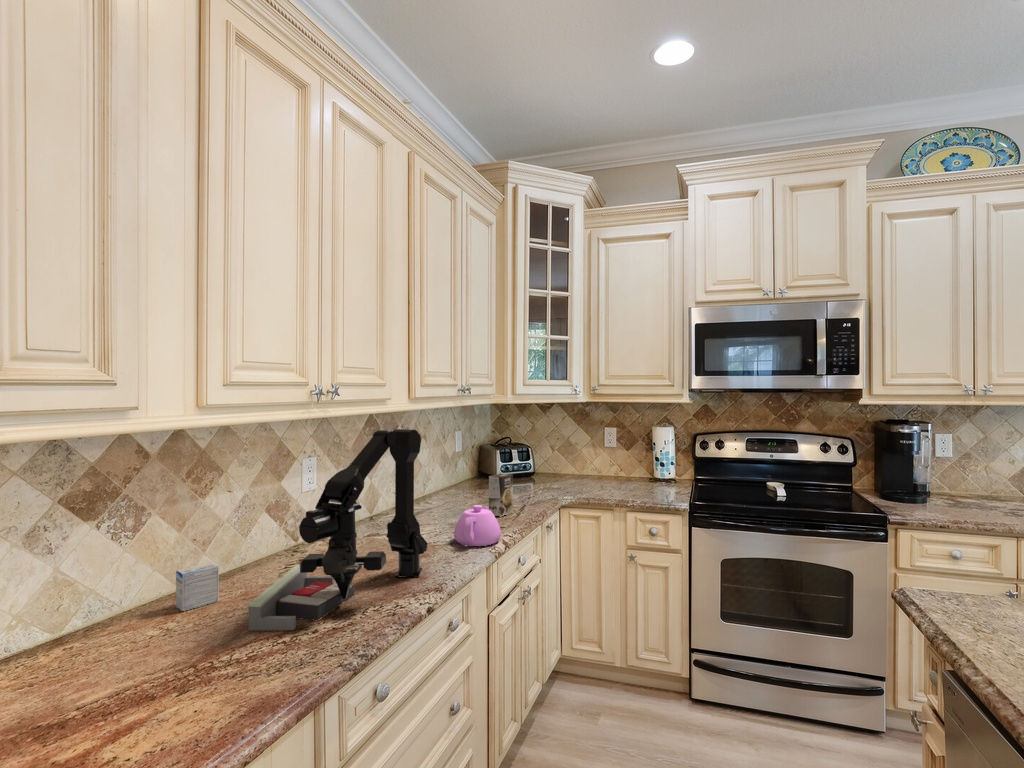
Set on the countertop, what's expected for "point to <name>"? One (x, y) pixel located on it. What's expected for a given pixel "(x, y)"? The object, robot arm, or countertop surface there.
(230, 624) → the countertop surface
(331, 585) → the calculator
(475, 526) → the teapot
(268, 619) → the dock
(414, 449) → the robot arm
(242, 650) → the countertop surface
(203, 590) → the medicine box
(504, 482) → the coffee box
